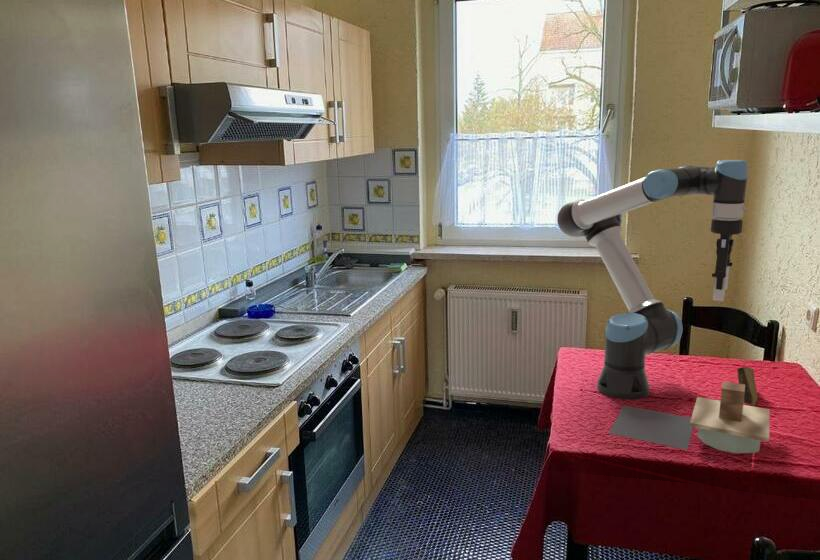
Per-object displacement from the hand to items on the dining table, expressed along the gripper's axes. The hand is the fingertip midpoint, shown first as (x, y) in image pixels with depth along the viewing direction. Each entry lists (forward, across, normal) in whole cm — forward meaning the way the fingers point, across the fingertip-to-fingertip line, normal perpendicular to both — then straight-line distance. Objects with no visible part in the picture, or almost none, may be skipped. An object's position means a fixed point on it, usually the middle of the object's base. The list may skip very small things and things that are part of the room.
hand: (720, 294), depth 170 cm
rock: (+33, +10, -10) cm, 36 cm away
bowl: (+33, -22, -6) cm, 40 cm away
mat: (+33, -23, +12) cm, 42 cm away
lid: (+27, -22, -6) cm, 35 cm away
